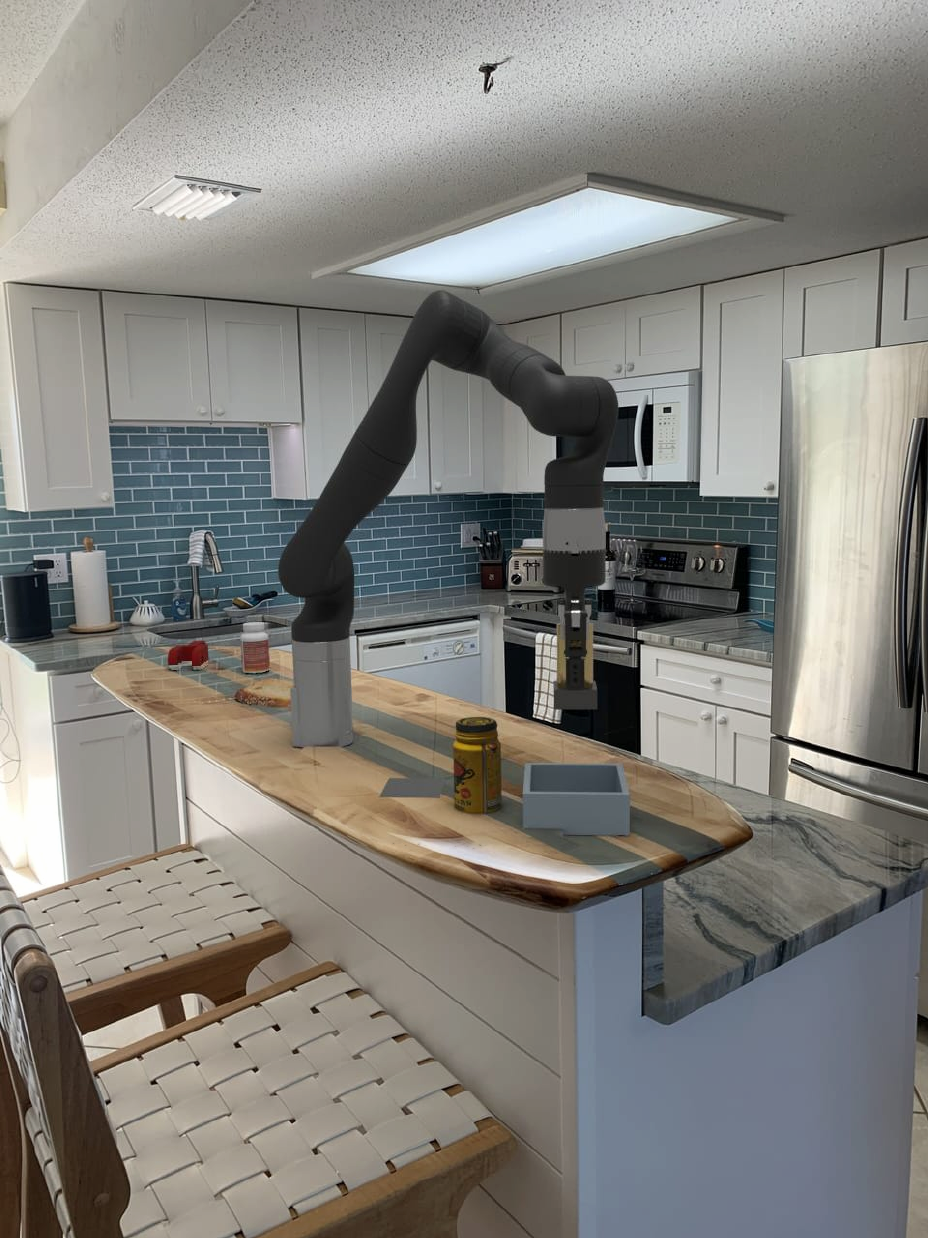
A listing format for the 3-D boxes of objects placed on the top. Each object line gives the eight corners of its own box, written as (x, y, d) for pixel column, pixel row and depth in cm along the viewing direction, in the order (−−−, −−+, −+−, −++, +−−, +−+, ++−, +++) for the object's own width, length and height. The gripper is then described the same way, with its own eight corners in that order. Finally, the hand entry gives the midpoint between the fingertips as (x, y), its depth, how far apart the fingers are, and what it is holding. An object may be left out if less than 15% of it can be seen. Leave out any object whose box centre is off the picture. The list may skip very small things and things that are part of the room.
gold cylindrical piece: (553, 709, 118) (553, 627, 116) (553, 699, 123) (553, 621, 121) (597, 709, 117) (597, 627, 116) (595, 699, 122) (595, 620, 121)
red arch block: (200, 672, 220) (199, 650, 219) (168, 673, 220) (167, 651, 219) (217, 659, 236) (215, 639, 235) (187, 660, 236) (186, 639, 235)
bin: (523, 834, 116) (522, 793, 115) (525, 799, 129) (525, 763, 128) (629, 835, 115) (630, 795, 114) (621, 800, 127) (622, 763, 127)
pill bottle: (275, 671, 218) (273, 622, 216) (251, 676, 214) (249, 626, 212) (260, 668, 222) (258, 620, 221) (236, 672, 218) (234, 623, 217)
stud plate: (379, 802, 128) (379, 796, 128) (389, 783, 136) (389, 778, 136) (439, 803, 128) (439, 797, 128) (445, 784, 136) (445, 778, 136)
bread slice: (343, 705, 186) (342, 686, 186) (249, 716, 179) (248, 696, 178) (317, 687, 202) (316, 670, 202) (230, 697, 195) (229, 678, 195)
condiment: (440, 813, 124) (438, 722, 122) (482, 796, 130) (480, 709, 129) (484, 826, 119) (483, 730, 118) (525, 807, 126) (525, 717, 124)
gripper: (543, 542, 124) (544, 674, 127) (542, 550, 110) (543, 698, 113) (602, 541, 124) (602, 673, 126) (609, 550, 110) (609, 698, 112)
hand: (574, 684), depth 119 cm, fingers closed on gold cylindrical piece, 4 cm apart
